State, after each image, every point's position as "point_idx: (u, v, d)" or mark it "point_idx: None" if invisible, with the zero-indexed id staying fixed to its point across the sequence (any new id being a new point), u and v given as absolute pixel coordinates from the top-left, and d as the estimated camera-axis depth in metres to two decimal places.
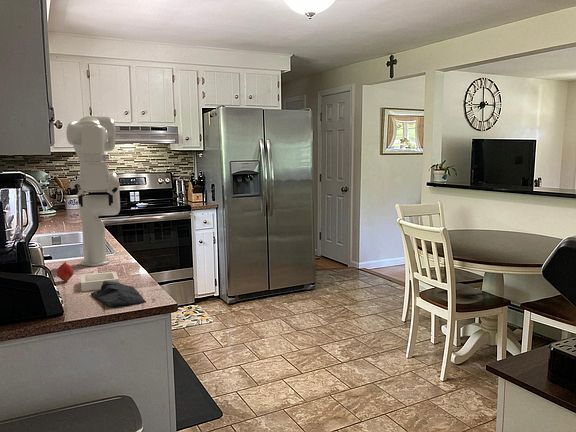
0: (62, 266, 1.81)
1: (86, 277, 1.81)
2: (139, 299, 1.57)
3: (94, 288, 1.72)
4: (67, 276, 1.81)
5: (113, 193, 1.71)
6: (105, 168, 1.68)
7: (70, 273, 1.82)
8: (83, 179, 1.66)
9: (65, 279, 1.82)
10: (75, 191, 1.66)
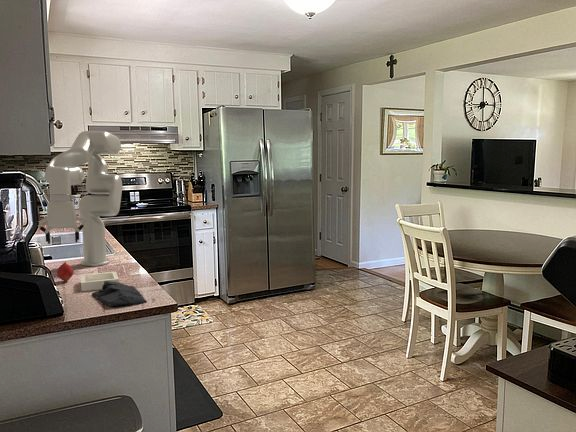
0: (62, 266, 1.81)
1: (86, 277, 1.81)
2: (140, 299, 1.57)
3: (94, 288, 1.72)
4: (67, 276, 1.81)
5: (79, 230, 1.82)
6: (71, 207, 1.79)
7: (70, 273, 1.82)
8: (50, 218, 1.77)
9: (65, 279, 1.82)
10: (43, 229, 1.77)
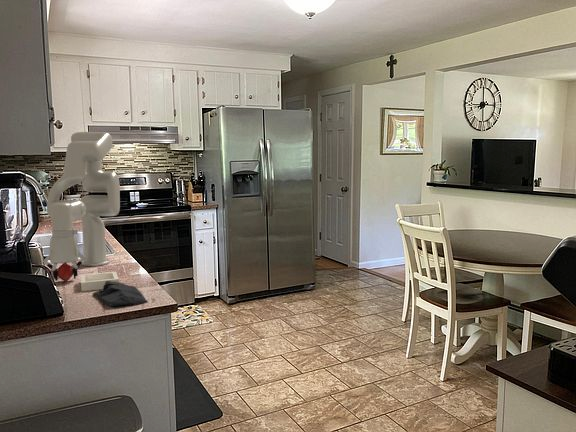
0: (62, 266, 1.81)
1: (86, 277, 1.81)
2: (141, 299, 1.57)
3: (94, 288, 1.72)
4: (67, 276, 1.81)
5: (77, 267, 1.84)
6: (73, 242, 1.81)
7: (70, 273, 1.82)
8: (53, 253, 1.79)
9: (65, 279, 1.82)
10: (50, 266, 1.80)
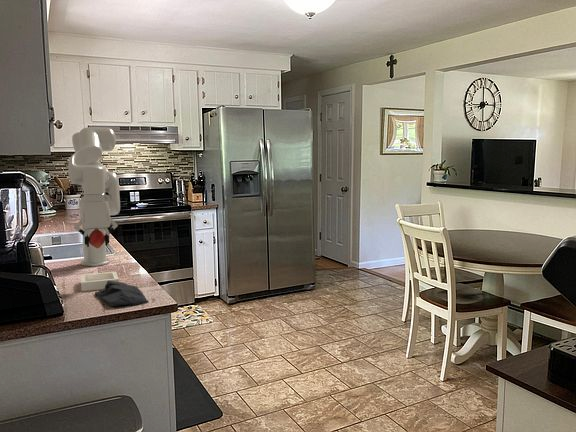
0: (94, 232, 1.75)
1: (86, 277, 1.81)
2: (141, 299, 1.56)
3: (94, 288, 1.72)
4: (99, 242, 1.75)
5: (109, 233, 1.77)
6: (106, 207, 1.75)
7: (102, 239, 1.75)
8: (85, 218, 1.72)
9: (97, 246, 1.75)
10: (82, 232, 1.73)
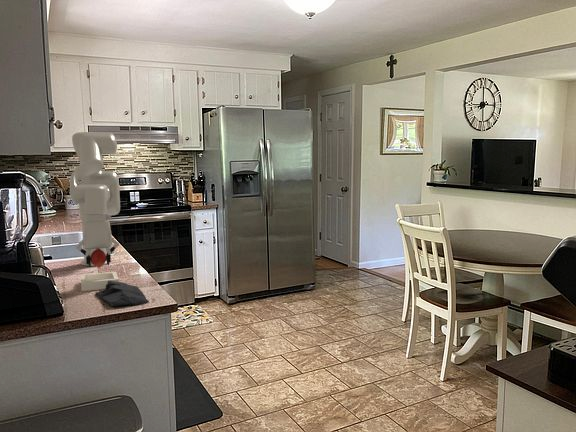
0: (95, 251, 1.76)
1: (86, 277, 1.81)
2: (142, 299, 1.56)
3: (94, 288, 1.72)
4: (101, 262, 1.75)
5: None
6: (107, 227, 1.76)
7: (104, 259, 1.76)
8: (86, 238, 1.73)
9: (98, 265, 1.76)
10: (83, 252, 1.74)
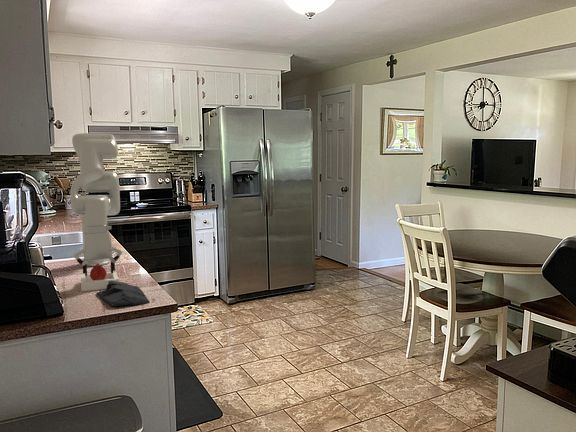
0: (95, 268, 1.76)
1: (86, 277, 1.81)
2: (142, 299, 1.56)
3: (94, 288, 1.72)
4: (100, 278, 1.76)
5: (115, 261, 1.79)
6: (108, 238, 1.76)
7: (103, 275, 1.77)
8: (87, 249, 1.73)
9: None
10: (80, 261, 1.74)
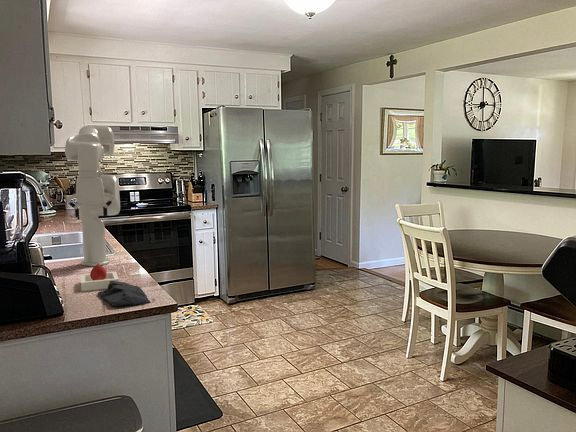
0: (95, 268, 1.76)
1: (86, 277, 1.81)
2: (143, 300, 1.56)
3: (94, 288, 1.72)
4: (101, 278, 1.76)
5: (107, 206, 1.84)
6: (100, 183, 1.81)
7: (104, 275, 1.77)
8: (80, 194, 1.78)
9: None
10: (72, 205, 1.79)
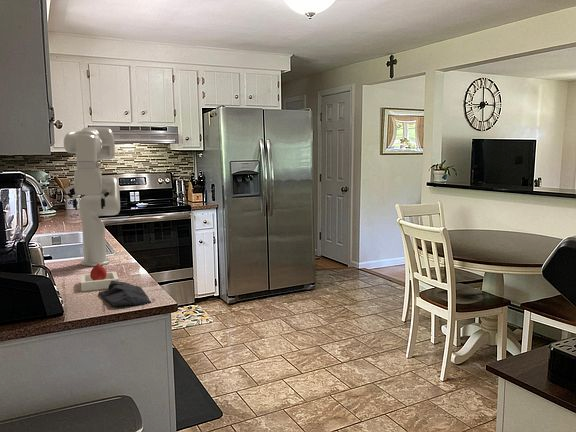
0: (95, 268, 1.76)
1: (86, 277, 1.81)
2: (144, 300, 1.56)
3: (94, 288, 1.72)
4: (101, 278, 1.76)
5: (105, 197, 1.86)
6: (97, 174, 1.83)
7: (104, 275, 1.77)
8: (77, 184, 1.80)
9: None
10: (70, 195, 1.81)
